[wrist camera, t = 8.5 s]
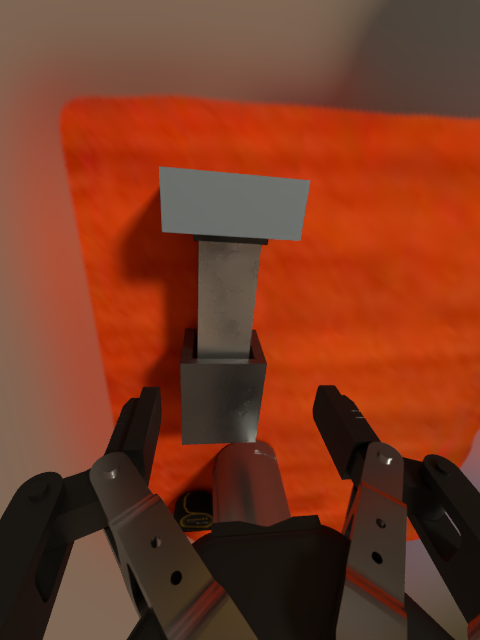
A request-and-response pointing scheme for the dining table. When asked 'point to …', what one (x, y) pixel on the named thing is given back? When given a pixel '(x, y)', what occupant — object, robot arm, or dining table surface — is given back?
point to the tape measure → (194, 511)
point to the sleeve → (221, 395)
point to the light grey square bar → (226, 294)
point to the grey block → (232, 204)
